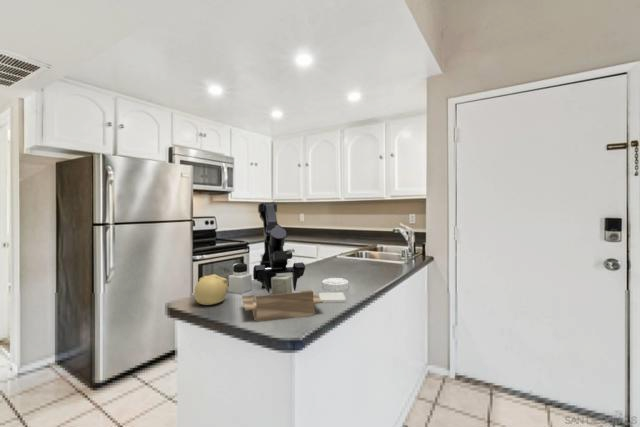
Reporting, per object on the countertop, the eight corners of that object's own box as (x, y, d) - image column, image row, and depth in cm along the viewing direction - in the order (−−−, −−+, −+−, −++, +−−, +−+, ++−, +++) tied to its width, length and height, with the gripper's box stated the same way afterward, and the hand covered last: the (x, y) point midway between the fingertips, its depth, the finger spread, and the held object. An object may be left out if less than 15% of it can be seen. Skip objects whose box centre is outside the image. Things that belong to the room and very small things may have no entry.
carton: (242, 306, 117) (242, 285, 117) (311, 300, 125) (311, 280, 124) (245, 322, 102) (245, 297, 101) (323, 313, 109) (323, 290, 109)
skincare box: (292, 309, 114) (292, 276, 113) (287, 313, 110) (287, 278, 109) (276, 307, 116) (276, 274, 115) (271, 311, 112) (270, 277, 111)
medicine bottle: (252, 289, 140) (251, 262, 140) (241, 294, 134) (241, 265, 134) (239, 288, 143) (238, 261, 143) (228, 292, 137) (228, 264, 137)
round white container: (317, 289, 142) (317, 281, 142) (330, 283, 152) (330, 276, 152) (340, 293, 136) (340, 284, 135) (352, 286, 146) (352, 278, 146)
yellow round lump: (231, 298, 127) (231, 272, 127) (217, 308, 116) (217, 279, 115) (205, 297, 129) (204, 271, 129) (188, 307, 117) (188, 278, 117)
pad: (320, 302, 121) (320, 300, 121) (318, 295, 131) (318, 292, 131) (346, 302, 122) (345, 299, 122) (342, 294, 132) (342, 292, 132)
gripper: (253, 243, 114) (256, 280, 103) (303, 241, 119) (311, 276, 109) (251, 261, 121) (254, 297, 111) (299, 258, 127) (306, 293, 117)
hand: (282, 291), depth 112 cm, fingers open, 9 cm apart
